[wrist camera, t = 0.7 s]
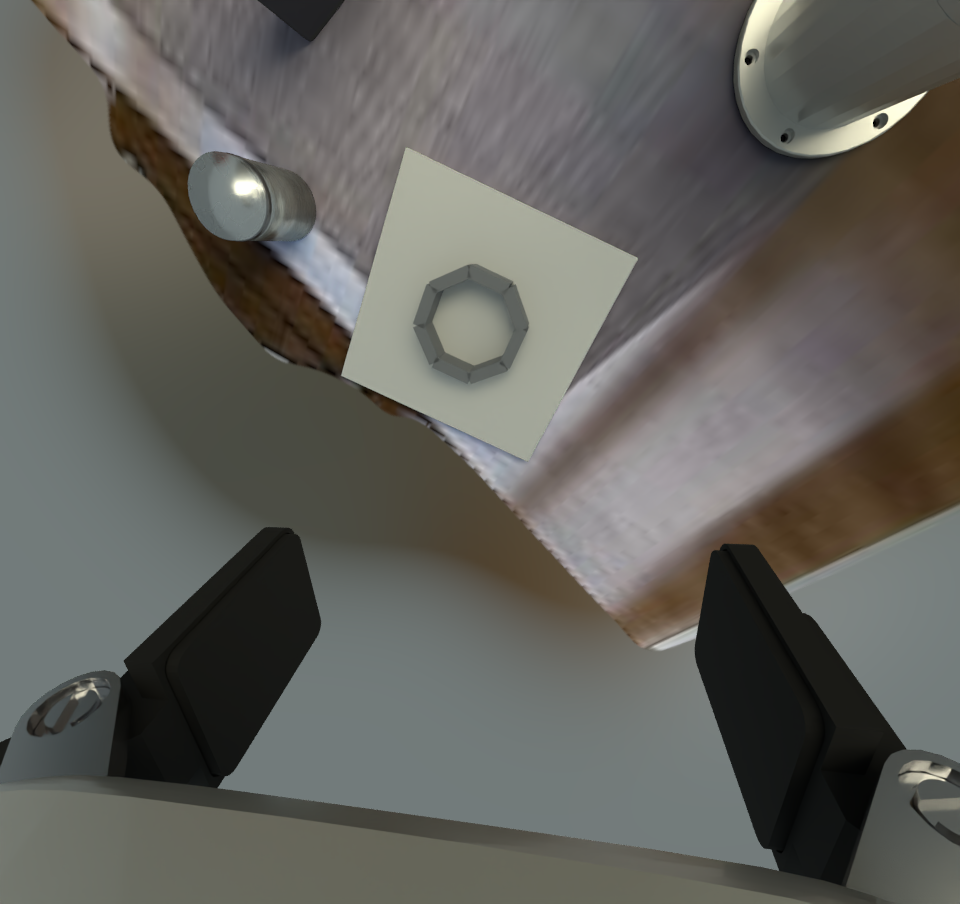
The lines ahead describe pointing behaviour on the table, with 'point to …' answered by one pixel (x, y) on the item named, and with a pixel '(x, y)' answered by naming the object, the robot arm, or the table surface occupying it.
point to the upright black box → (304, 14)
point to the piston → (250, 199)
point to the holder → (479, 306)
